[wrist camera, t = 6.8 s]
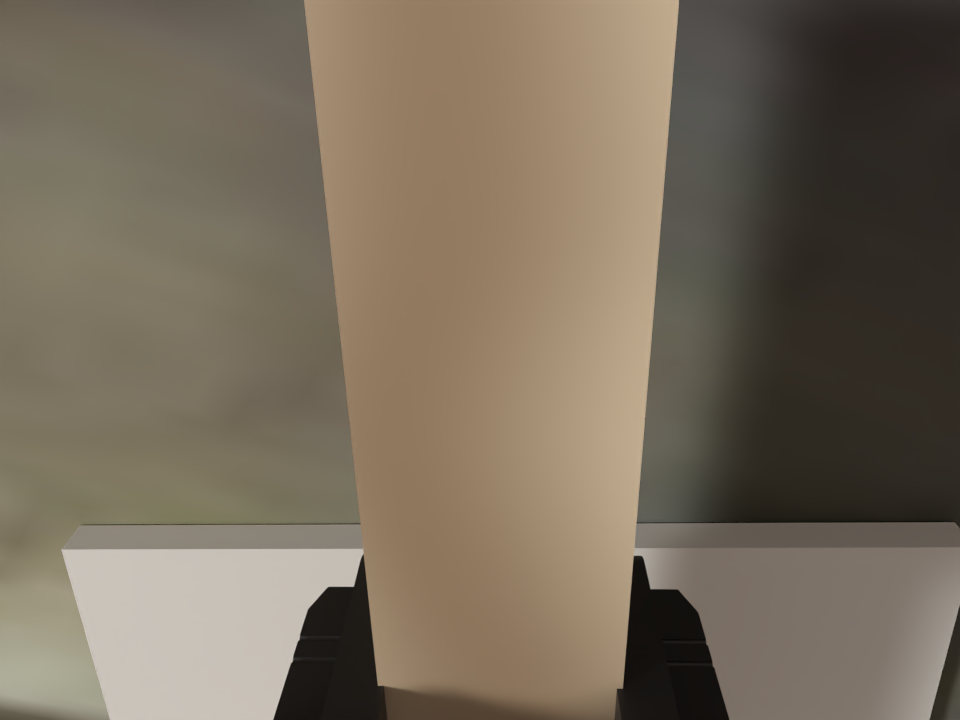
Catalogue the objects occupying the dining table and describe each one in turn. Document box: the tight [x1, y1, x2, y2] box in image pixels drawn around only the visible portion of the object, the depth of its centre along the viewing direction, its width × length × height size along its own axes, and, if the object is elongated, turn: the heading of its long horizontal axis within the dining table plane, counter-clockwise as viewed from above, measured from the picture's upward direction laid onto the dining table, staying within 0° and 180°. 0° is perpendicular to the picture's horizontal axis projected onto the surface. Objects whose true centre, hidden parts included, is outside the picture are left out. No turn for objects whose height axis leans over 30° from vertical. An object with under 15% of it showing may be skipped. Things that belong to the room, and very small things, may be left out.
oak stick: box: [304, 0, 679, 720], centre depth 13 cm, size 3×20×4 cm, turn 1°
